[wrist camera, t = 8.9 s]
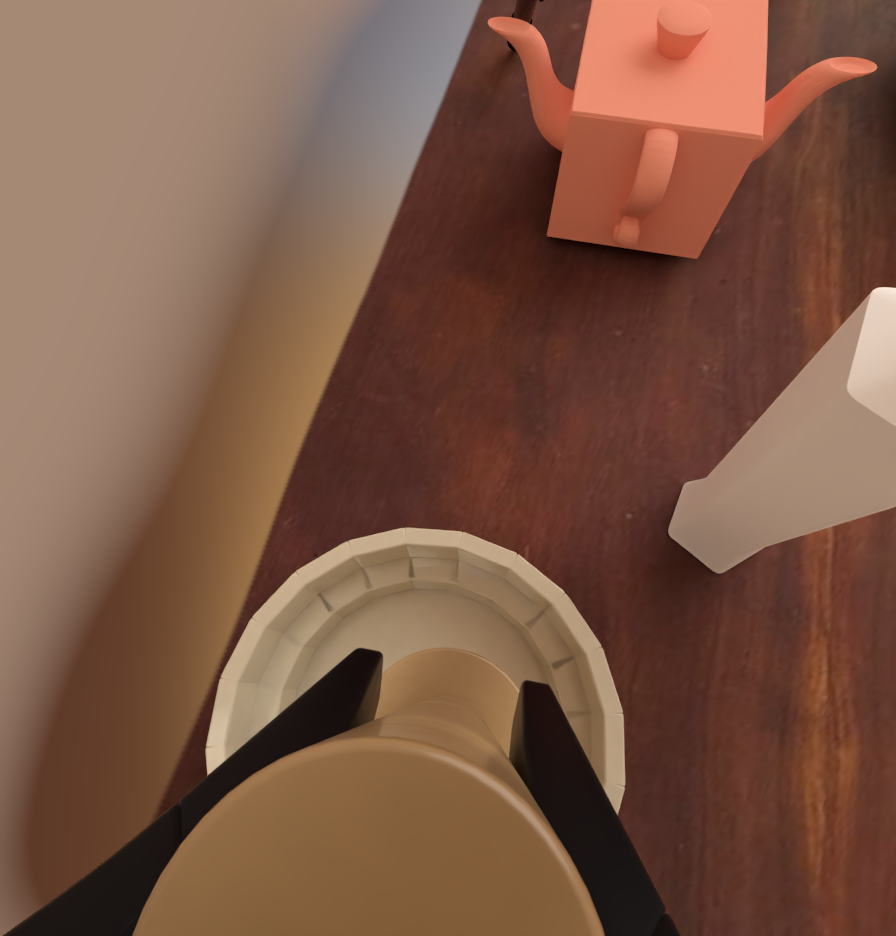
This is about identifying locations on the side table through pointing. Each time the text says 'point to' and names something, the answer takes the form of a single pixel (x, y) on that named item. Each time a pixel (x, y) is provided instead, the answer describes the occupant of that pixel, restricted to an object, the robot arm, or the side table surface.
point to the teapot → (661, 116)
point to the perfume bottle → (806, 450)
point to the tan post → (384, 829)
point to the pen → (523, 13)
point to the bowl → (420, 634)
